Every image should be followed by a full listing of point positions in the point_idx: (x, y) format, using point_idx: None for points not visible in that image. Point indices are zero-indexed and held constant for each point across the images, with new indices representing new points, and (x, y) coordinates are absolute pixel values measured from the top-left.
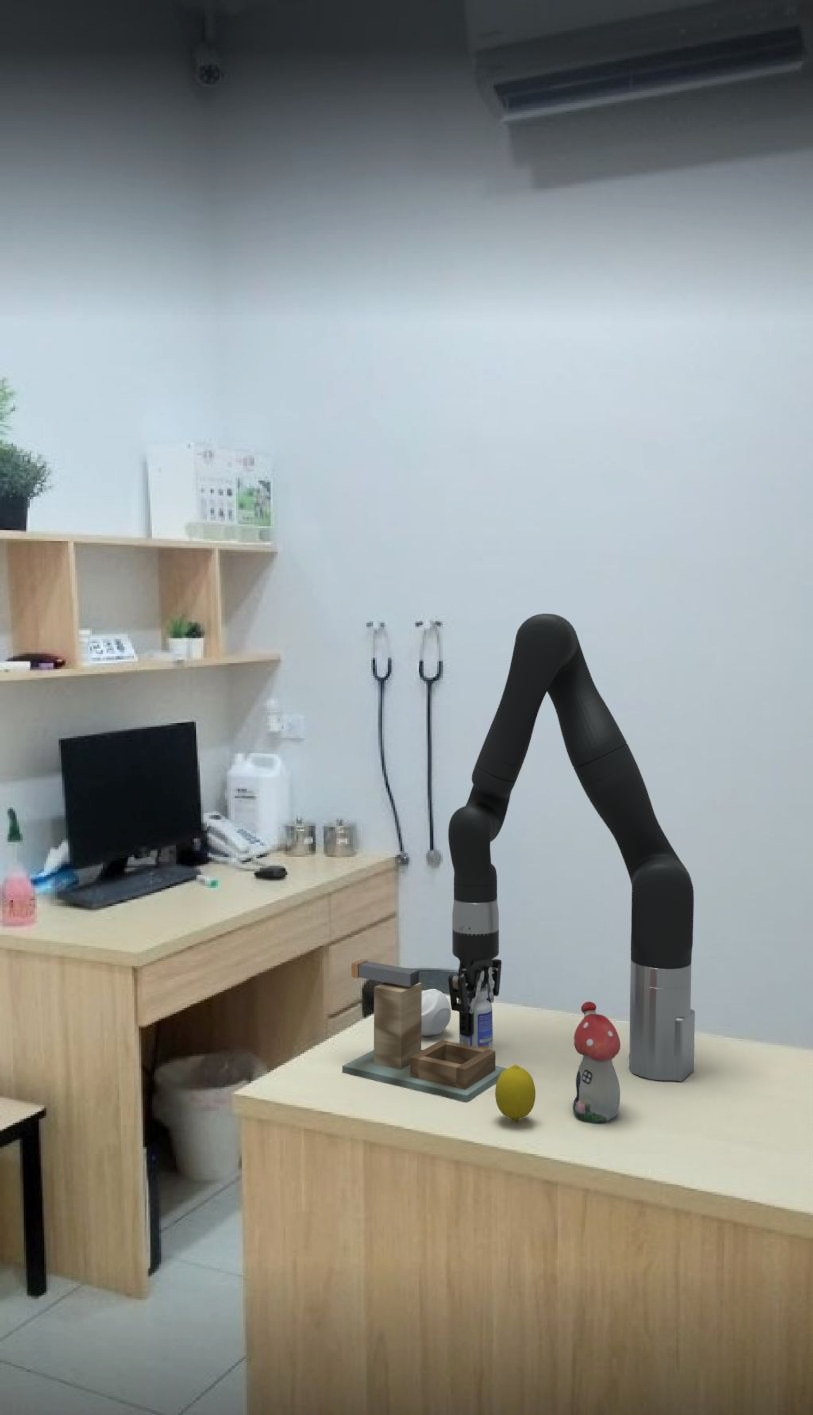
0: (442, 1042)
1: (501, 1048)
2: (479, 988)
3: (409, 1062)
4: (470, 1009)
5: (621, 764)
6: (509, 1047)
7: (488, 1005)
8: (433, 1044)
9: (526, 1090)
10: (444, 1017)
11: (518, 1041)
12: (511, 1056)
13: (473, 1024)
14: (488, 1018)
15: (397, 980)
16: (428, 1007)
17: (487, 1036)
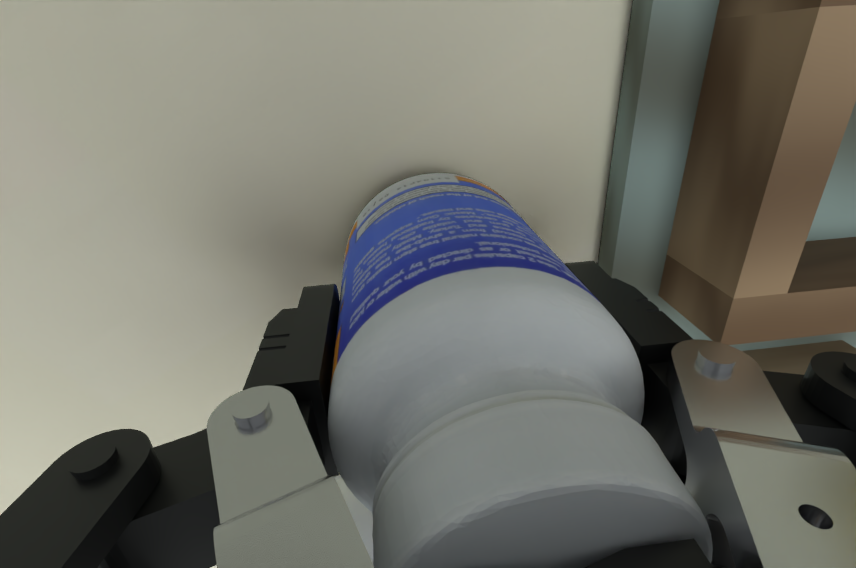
0: (764, 319)
1: (274, 186)
2: (800, 560)
3: (789, 352)
4: (754, 365)
5: None
6: (226, 158)
7: (505, 317)
8: (811, 335)
9: None
10: (365, 520)
11: (99, 171)
12: (346, 63)
13: (594, 293)
14: (505, 242)
15: None
16: None
17: (480, 198)
